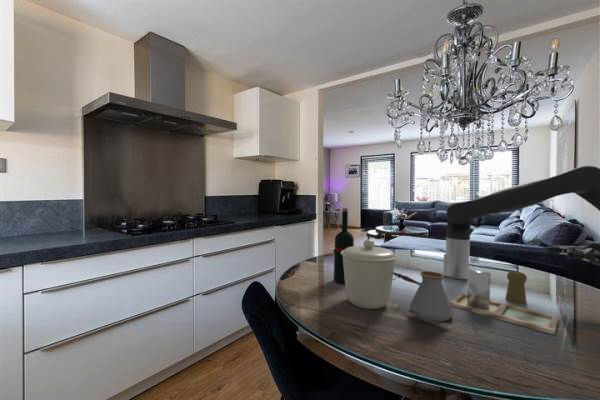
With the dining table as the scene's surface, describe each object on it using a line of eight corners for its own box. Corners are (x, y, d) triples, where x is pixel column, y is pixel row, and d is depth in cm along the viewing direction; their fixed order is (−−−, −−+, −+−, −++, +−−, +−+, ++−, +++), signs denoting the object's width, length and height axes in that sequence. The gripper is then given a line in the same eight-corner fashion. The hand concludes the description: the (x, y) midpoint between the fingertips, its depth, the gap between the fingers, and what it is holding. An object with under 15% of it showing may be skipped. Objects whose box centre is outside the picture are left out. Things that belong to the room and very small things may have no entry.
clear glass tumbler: (464, 305, 89) (465, 271, 88) (469, 300, 93) (471, 268, 92) (486, 311, 84) (488, 275, 84) (491, 306, 88) (492, 271, 88)
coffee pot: (427, 307, 90) (429, 261, 89) (462, 322, 79) (463, 270, 79) (375, 318, 81) (377, 267, 80) (406, 337, 70) (408, 278, 70)
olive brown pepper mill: (531, 309, 90) (532, 275, 90) (510, 307, 91) (511, 273, 91) (520, 302, 96) (521, 270, 96) (500, 300, 97) (502, 269, 97)
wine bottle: (344, 287, 107) (346, 209, 106) (329, 279, 116) (331, 207, 116) (360, 284, 111) (362, 209, 110) (345, 277, 120) (347, 207, 119)
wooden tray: (449, 308, 89) (449, 301, 89) (461, 299, 97) (461, 292, 97) (554, 339, 71) (554, 330, 71) (557, 324, 80) (558, 316, 80)
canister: (373, 290, 104) (375, 234, 103) (408, 310, 87) (410, 243, 86) (330, 296, 97) (331, 236, 97) (359, 318, 80) (361, 245, 80)
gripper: (591, 239, 97) (541, 237, 99) (636, 246, 83) (576, 244, 85) (590, 260, 97) (540, 258, 99) (635, 271, 83) (575, 269, 85)
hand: (557, 252), depth 92 cm, fingers open, 8 cm apart
